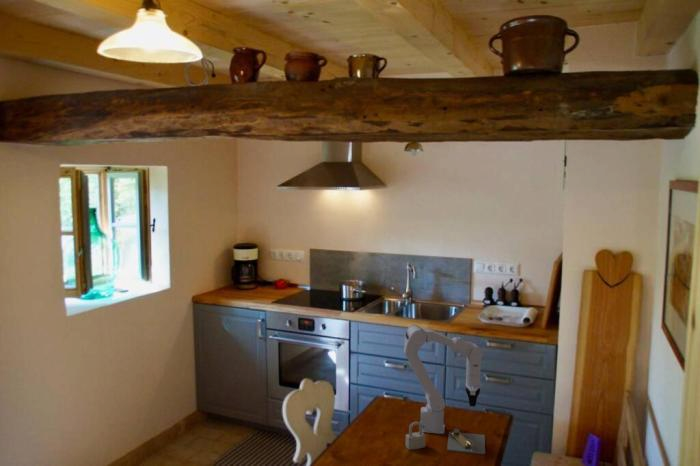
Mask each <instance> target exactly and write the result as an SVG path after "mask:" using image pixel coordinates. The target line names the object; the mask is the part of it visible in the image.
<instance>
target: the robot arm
mask: <svg viewBox="0 0 700 466" xmlns="http://www.w3.org/2000/svg"><path fill="white" fill-rule="evenodd" d="M430 342H436V343H438V344H441V345H444V346H446V347H448V348H449V350H450V351H452V352H454V353H456V354H459V355H461V356H464V357H466V363H465V364H466V365H465V366H466V369H465V372H466V373H465V394H467V397H468V404H469V407H476V405H477V404H476V403H477V400H478V397H479V395H480V393H481V388H483V386H484V384H483V383H481V369H482V366H481V365H482V363H481V361H482V358H483V357H484V353H483V350H482V349H481V348H480V347H479V346H478V345H477V344H476V343H474V342H472V341H466V340H465V339H463V338H462V337H461V336H458V337H457V336H455V337H452V338H451V337H448V336H446V335H444V334H441V333H439V332H437V331H435V330H433V329H429V328H427V327H424V326H419V325H418V324H410V325H408V327H407V329H406V331H405V333H404V343H403V344H404V345H403V346H404V347H403V352H404V353H403V354H404V355H405V357H406V358H407V361H408V363H409V364H410V366H411V368H412V370H413V372H414V374H415V377H416V378H417V380H418V382H419V383H420V385H421V388H422V390H423V392H424V399H425V401H426V402H427V403H426V405H425V406H422V407H421V408H420V420H419V422H420V423H421V424H422V432H423V433H428V434H429V433H430V434H437V435H439V434H441V435H444V434H445V428H446V425H445V424H444V423H445V422H444V420H445V418H444V417H445V415H444V414H445V413H444V409H445V407H446V401H445V398H444V397H443V396H442V395H441V393H440V392H439V390H438V389H437V387H435V385H434V382H433V381H432V379H431V377H430V376H429V374H428V372H427V370H426V367H425V366H424V363H423V362H422V360H421V358H420V356H419V351H420V349H421V347H422V346H423V345H424V344H425V343H426V344H428V343H430Z"/></svg>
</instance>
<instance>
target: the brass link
mask: <svg viewBox="0 0 700 466" xmlns="http://www.w3.org/2000/svg"><path fill="white" fill-rule="evenodd" d="M451 432H452V437H454V438H455V439H456V440H457V441H458V442H459V443H460V444H461V445H462V446H463V447H464V448H467V447H470V445H469V444H468V443H467V442H466V438H465V437H463V436H462V435H461V433H462V432H460V431H459V434H454V431H451Z"/></svg>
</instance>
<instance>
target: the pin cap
mask: <svg viewBox="0 0 700 466" xmlns="http://www.w3.org/2000/svg"><path fill="white" fill-rule="evenodd" d="M453 432H454V434H459V432H460V429H459V428H454V429H453Z"/></svg>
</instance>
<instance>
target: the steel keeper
mask: <svg viewBox="0 0 700 466" xmlns="http://www.w3.org/2000/svg"><path fill="white" fill-rule="evenodd" d="M466 442H467V443H468V444H469V445H470V449H471V450H476V443H475V442H474V441H473V440H471V439H466Z"/></svg>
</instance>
